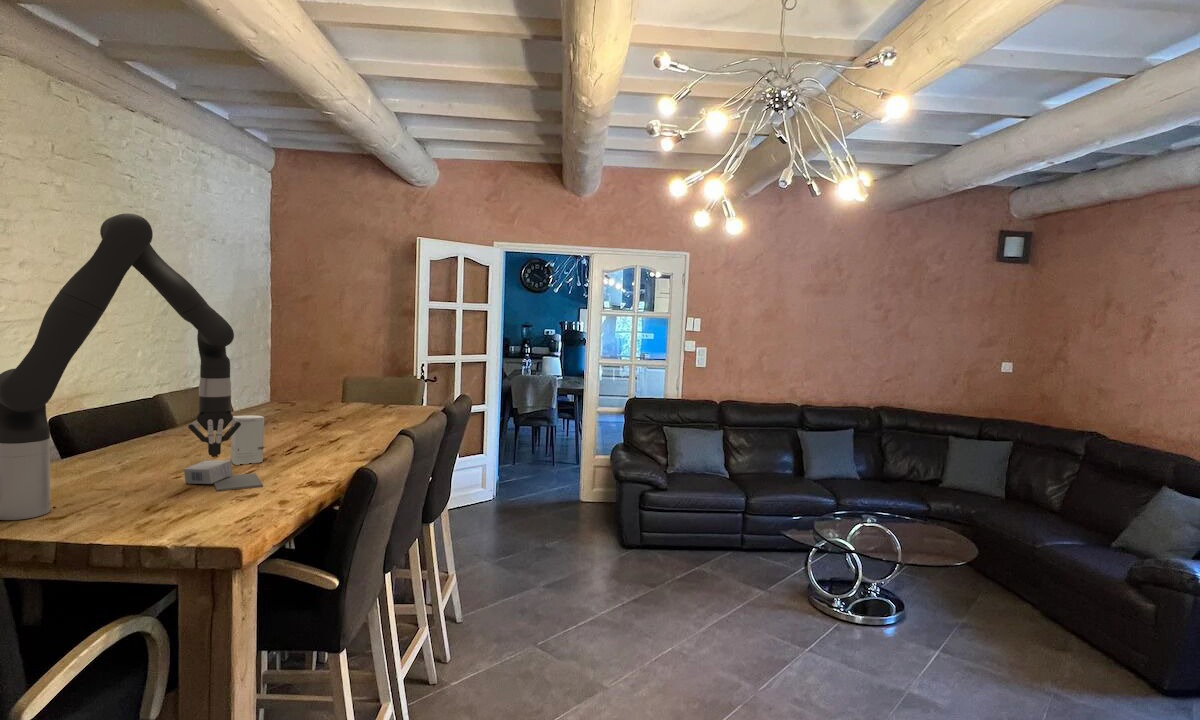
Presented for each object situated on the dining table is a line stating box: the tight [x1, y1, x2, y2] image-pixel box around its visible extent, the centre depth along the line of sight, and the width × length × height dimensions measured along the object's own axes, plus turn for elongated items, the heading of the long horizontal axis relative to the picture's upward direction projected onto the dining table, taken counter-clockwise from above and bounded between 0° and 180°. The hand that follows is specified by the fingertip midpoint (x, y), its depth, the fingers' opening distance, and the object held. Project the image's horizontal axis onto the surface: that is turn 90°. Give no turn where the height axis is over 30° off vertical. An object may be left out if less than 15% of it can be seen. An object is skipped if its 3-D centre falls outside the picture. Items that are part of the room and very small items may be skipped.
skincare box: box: [229, 414, 265, 466], centre depth 200 cm, size 8×6×15 cm
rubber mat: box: [213, 472, 264, 492], centre depth 177 cm, size 11×14×1 cm
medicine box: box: [183, 459, 233, 485], centre depth 177 cm, size 8×4×9 cm
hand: (214, 456), depth 174 cm, fingers closed
